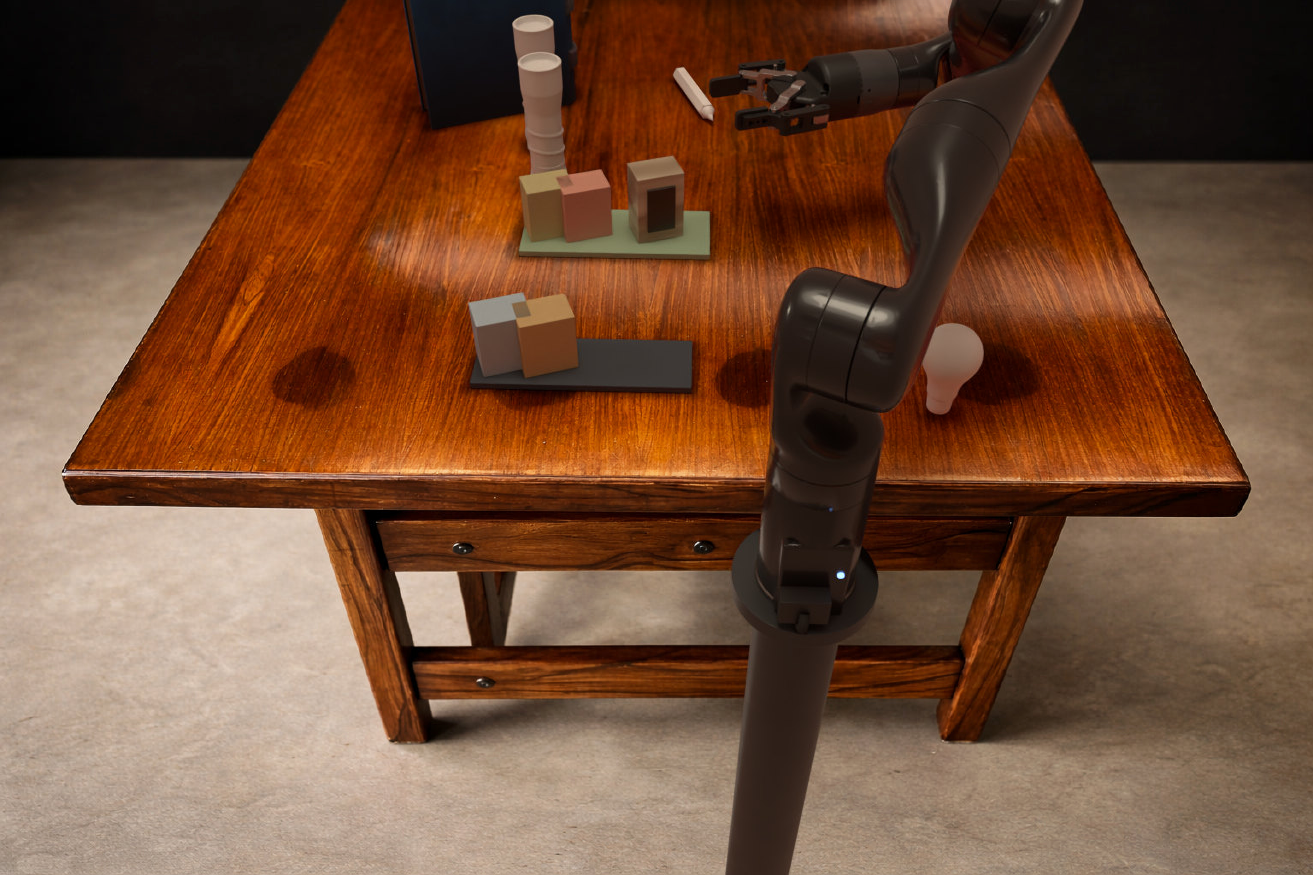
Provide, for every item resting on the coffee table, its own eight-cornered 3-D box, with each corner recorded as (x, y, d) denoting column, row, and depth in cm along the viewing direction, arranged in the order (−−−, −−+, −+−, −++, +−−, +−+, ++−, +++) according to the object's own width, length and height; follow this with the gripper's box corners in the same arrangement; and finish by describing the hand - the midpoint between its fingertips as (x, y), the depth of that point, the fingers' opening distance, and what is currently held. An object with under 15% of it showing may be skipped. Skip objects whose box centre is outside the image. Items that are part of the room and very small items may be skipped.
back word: (709, 260, 128) (711, 205, 123) (518, 256, 129) (512, 202, 123) (709, 216, 135) (711, 163, 130) (528, 213, 136) (523, 160, 130)
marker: (711, 131, 153) (677, 84, 164) (723, 123, 153) (688, 76, 163) (704, 118, 151) (670, 71, 162) (716, 110, 151) (681, 63, 162)
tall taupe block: (684, 237, 130) (685, 174, 124) (639, 245, 129) (638, 182, 123) (672, 217, 134) (673, 155, 127) (628, 225, 132) (626, 163, 126)
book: (568, 78, 164) (553, -130, 143) (585, 101, 158) (573, -111, 137) (419, 104, 158) (381, -108, 137) (432, 130, 152) (394, -88, 131)
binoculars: (571, 197, 139) (563, 69, 126) (531, 200, 138) (518, 72, 125) (560, 135, 151) (551, 13, 138) (523, 138, 150) (511, 16, 138)
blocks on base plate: (691, 393, 110) (693, 337, 105) (470, 388, 111) (460, 332, 106) (692, 346, 116) (693, 290, 111) (481, 341, 117) (472, 286, 111)
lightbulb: (978, 417, 108) (1003, 336, 100) (935, 439, 105) (956, 357, 98) (938, 385, 111) (958, 303, 104) (895, 405, 109) (913, 323, 101)
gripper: (828, 30, 124) (702, 47, 120) (882, 80, 114) (747, 100, 110) (821, 90, 129) (700, 108, 125) (872, 142, 119) (743, 163, 115)
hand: (722, 104), depth 118 cm, fingers open, 8 cm apart
